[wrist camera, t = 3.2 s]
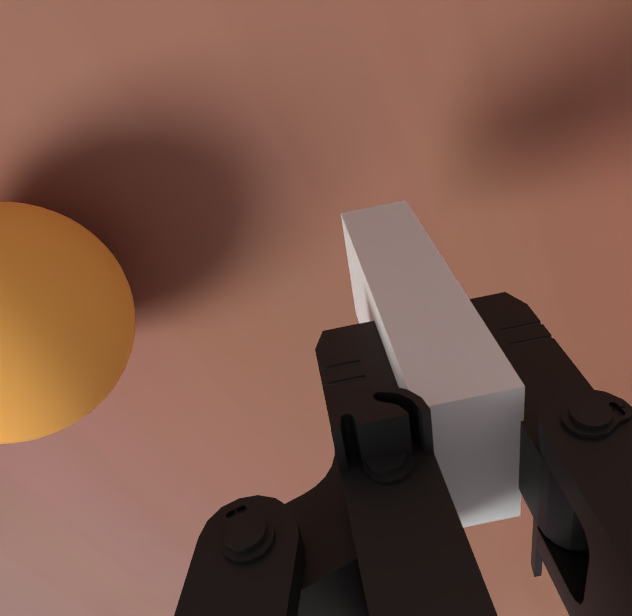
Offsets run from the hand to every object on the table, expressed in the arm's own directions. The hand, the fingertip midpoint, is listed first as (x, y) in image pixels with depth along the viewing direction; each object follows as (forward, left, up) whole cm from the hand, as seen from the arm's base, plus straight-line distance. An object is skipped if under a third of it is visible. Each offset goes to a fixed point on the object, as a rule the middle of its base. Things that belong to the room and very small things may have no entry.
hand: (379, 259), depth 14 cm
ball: (+9, 0, -1) cm, 9 cm away
